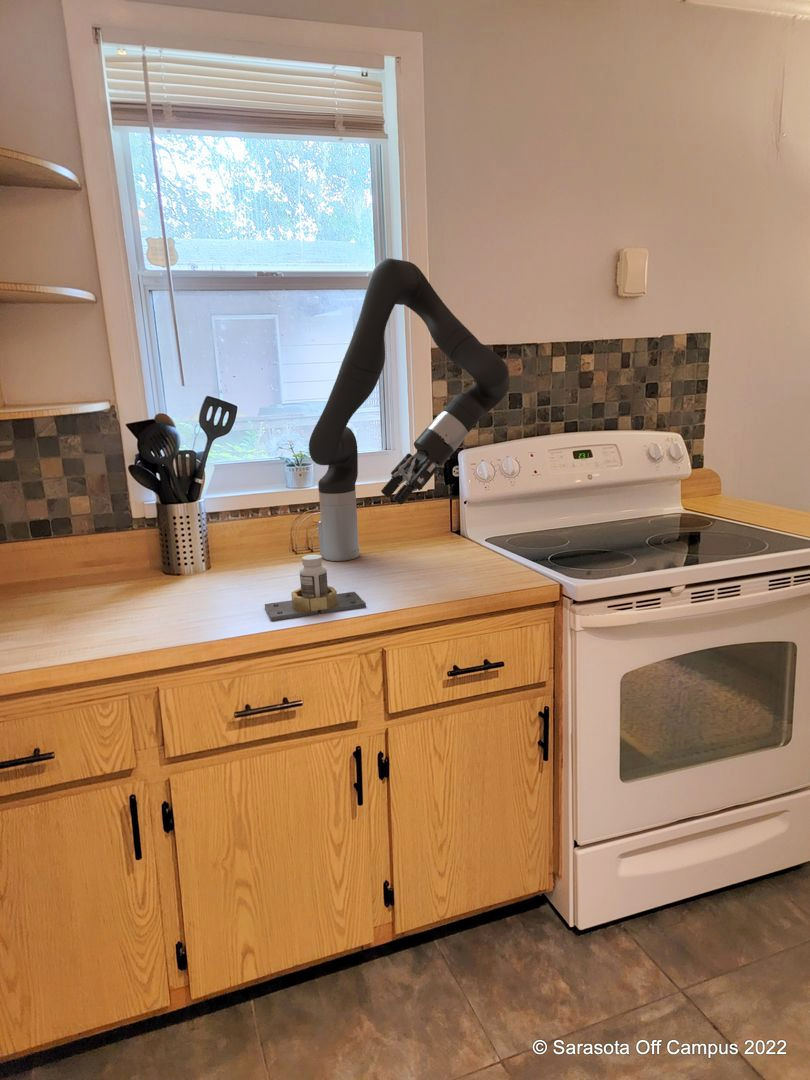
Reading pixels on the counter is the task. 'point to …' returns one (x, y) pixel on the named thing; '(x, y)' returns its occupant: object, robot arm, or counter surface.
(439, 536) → the counter surface
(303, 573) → the pill bottle
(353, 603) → the octagonal bottle holder
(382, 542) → the counter surface
